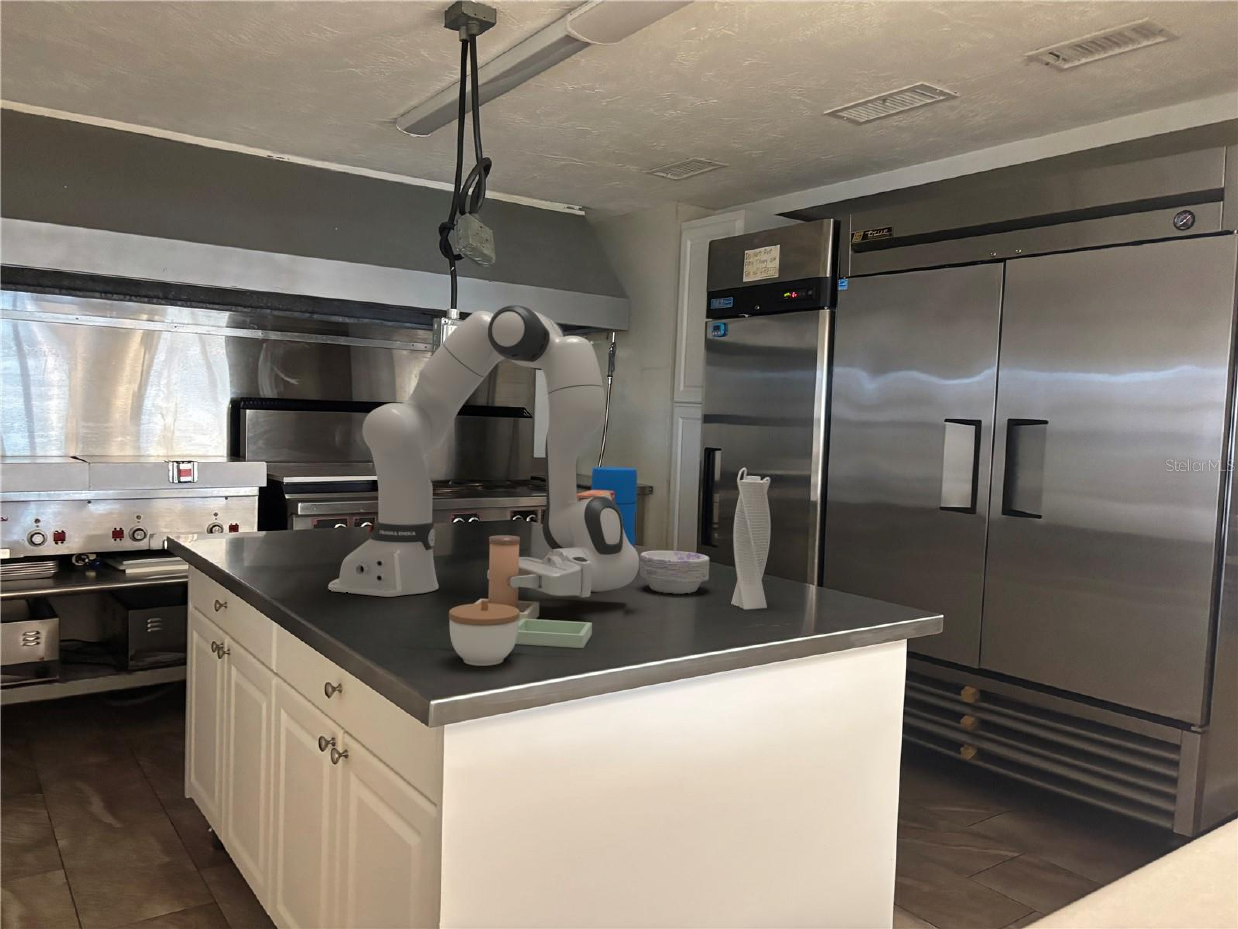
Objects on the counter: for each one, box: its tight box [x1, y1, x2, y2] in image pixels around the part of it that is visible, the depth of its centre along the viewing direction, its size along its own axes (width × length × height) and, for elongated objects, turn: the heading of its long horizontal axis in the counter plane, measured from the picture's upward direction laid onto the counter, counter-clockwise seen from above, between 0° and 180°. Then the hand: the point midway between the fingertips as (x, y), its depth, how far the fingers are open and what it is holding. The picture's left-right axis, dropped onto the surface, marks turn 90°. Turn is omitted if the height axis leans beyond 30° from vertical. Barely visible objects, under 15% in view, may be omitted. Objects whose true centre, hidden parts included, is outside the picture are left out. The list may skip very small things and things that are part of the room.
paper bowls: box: [638, 550, 710, 595], centre depth 198 cm, size 15×15×8 cm
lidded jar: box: [448, 598, 520, 667], centre depth 139 cm, size 11×11×9 cm
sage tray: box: [515, 618, 593, 649], centre depth 149 cm, size 12×9×3 cm
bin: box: [473, 598, 540, 621], centre depth 162 cm, size 22×10×4 cm, turn 83°
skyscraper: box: [731, 467, 771, 610], centre depth 184 cm, size 8×8×28 cm
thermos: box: [591, 466, 638, 549], centre depth 217 cm, size 11×11×25 cm
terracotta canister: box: [488, 534, 521, 609], centre depth 161 cm, size 5×5×15 cm
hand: (499, 578), depth 160 cm, fingers open, 6 cm apart
